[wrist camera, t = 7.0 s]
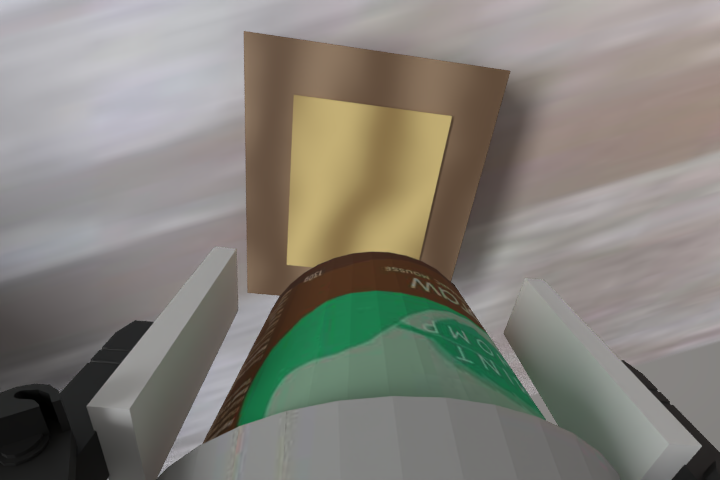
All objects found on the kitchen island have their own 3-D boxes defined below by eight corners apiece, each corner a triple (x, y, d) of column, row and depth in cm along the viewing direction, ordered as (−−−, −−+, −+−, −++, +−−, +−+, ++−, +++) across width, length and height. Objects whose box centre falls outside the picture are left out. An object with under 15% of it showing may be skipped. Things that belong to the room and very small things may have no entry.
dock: (259, 267, 31) (246, 294, 27) (260, 38, 23) (242, 30, 19) (432, 283, 32) (443, 311, 28) (486, 71, 24) (511, 70, 21)
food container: (555, 294, 15) (867, 621, 6) (474, 385, 17) (611, 720, 8) (294, 169, 12) (148, 426, 3) (238, 296, 15) (61, 656, 6)
